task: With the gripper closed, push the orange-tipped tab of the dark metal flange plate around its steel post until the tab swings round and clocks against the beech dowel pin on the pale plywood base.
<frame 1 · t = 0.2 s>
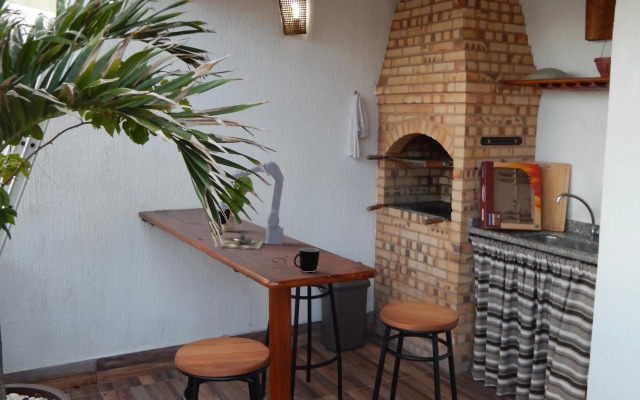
hand: (224, 223, 370), 10 cm above the bar counter, fingers open, 7 cm apart
flange: (238, 239, 362), point 3 cm above the bar counter, hinge at 0.0°
base: (242, 245, 362), on the bar counter
supplement box: (226, 231, 403), on the bar counter
mug: (305, 272, 309), on the bar counter
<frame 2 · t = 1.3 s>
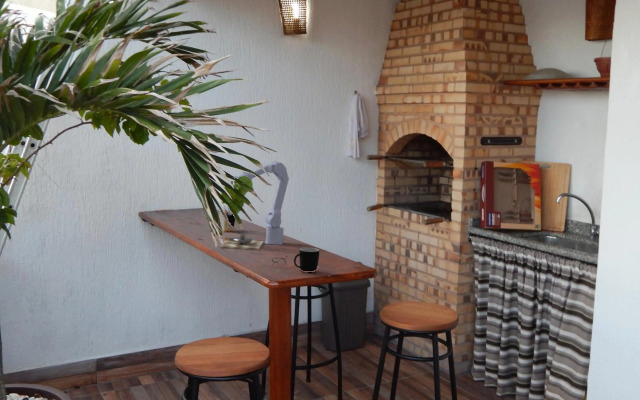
hand: (231, 226, 364), 9 cm above the bar counter, fingers closed
nothing on the bar counter moved.
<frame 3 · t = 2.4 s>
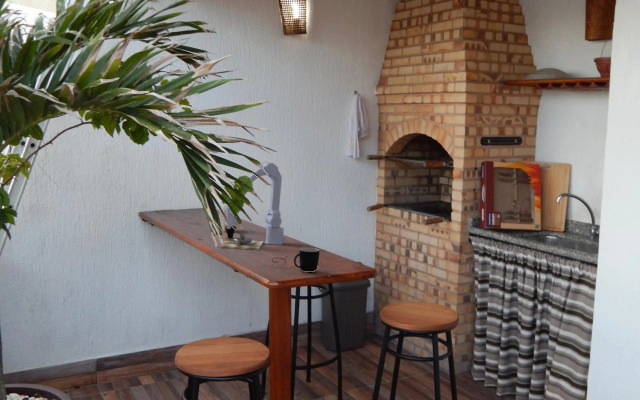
hand: (230, 240, 364), 2 cm above the bar counter, fingers closed, pressing on flange
flange: (238, 239, 362), point 3 cm above the bar counter, hinge at 1.5°, touching gripper
everything else where it was.
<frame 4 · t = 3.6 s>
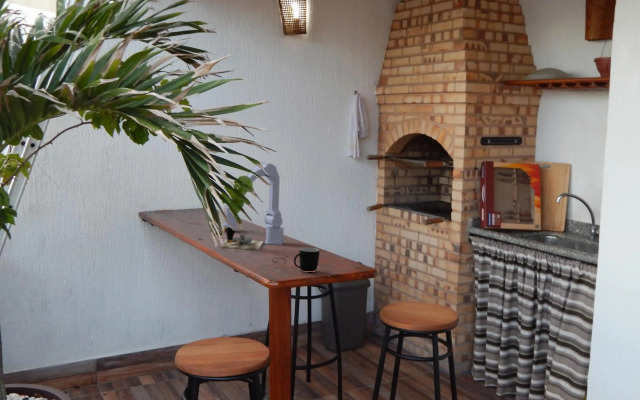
hand: (229, 241, 359), 2 cm above the bar counter, fingers closed, pressing on flange
flange: (239, 240, 361), point 3 cm above the bar counter, hinge at 43.2°, touching gripper
everything else where it was.
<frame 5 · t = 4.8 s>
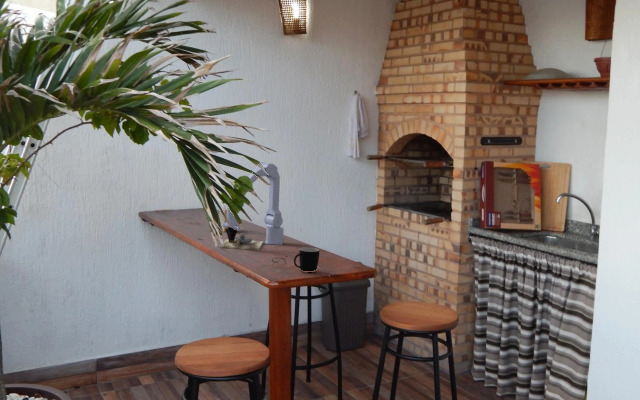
hand: (231, 242, 358), 2 cm above the bar counter, fingers closed
flange: (240, 240, 360), point 3 cm above the bar counter, hinge at 63.2°
everything else where it was.
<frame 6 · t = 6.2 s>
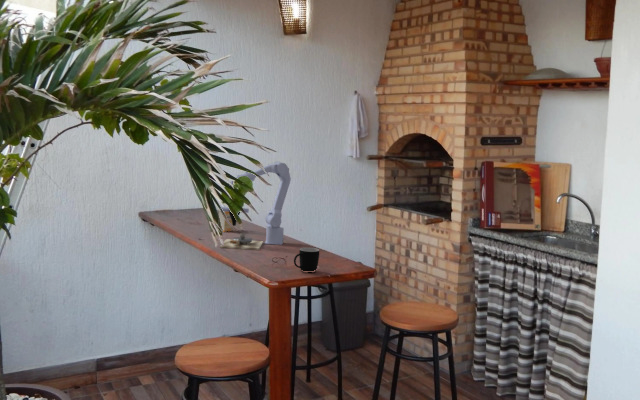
hand: (234, 225, 364), 10 cm above the bar counter, fingers closed
nothing on the bar counter moved.
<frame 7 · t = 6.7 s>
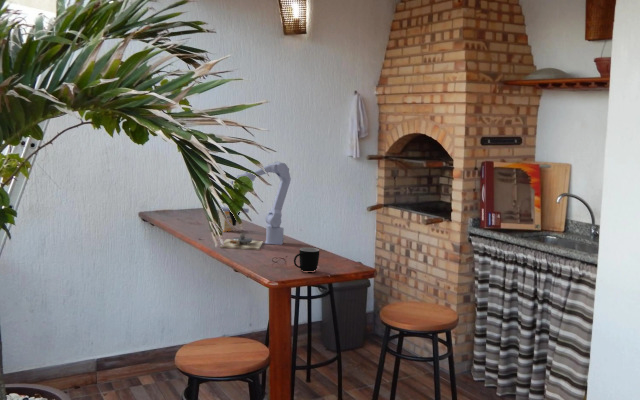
hand: (234, 225, 364), 10 cm above the bar counter, fingers closed
nothing on the bar counter moved.
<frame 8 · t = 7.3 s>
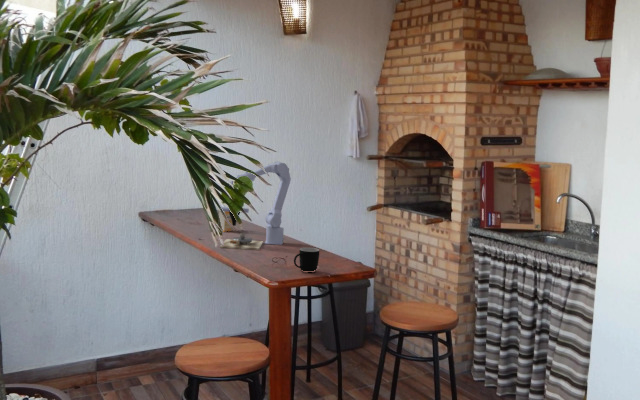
hand: (234, 225, 364), 10 cm above the bar counter, fingers closed
nothing on the bar counter moved.
at the end: flange at +63° (first picture: +0°) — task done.
